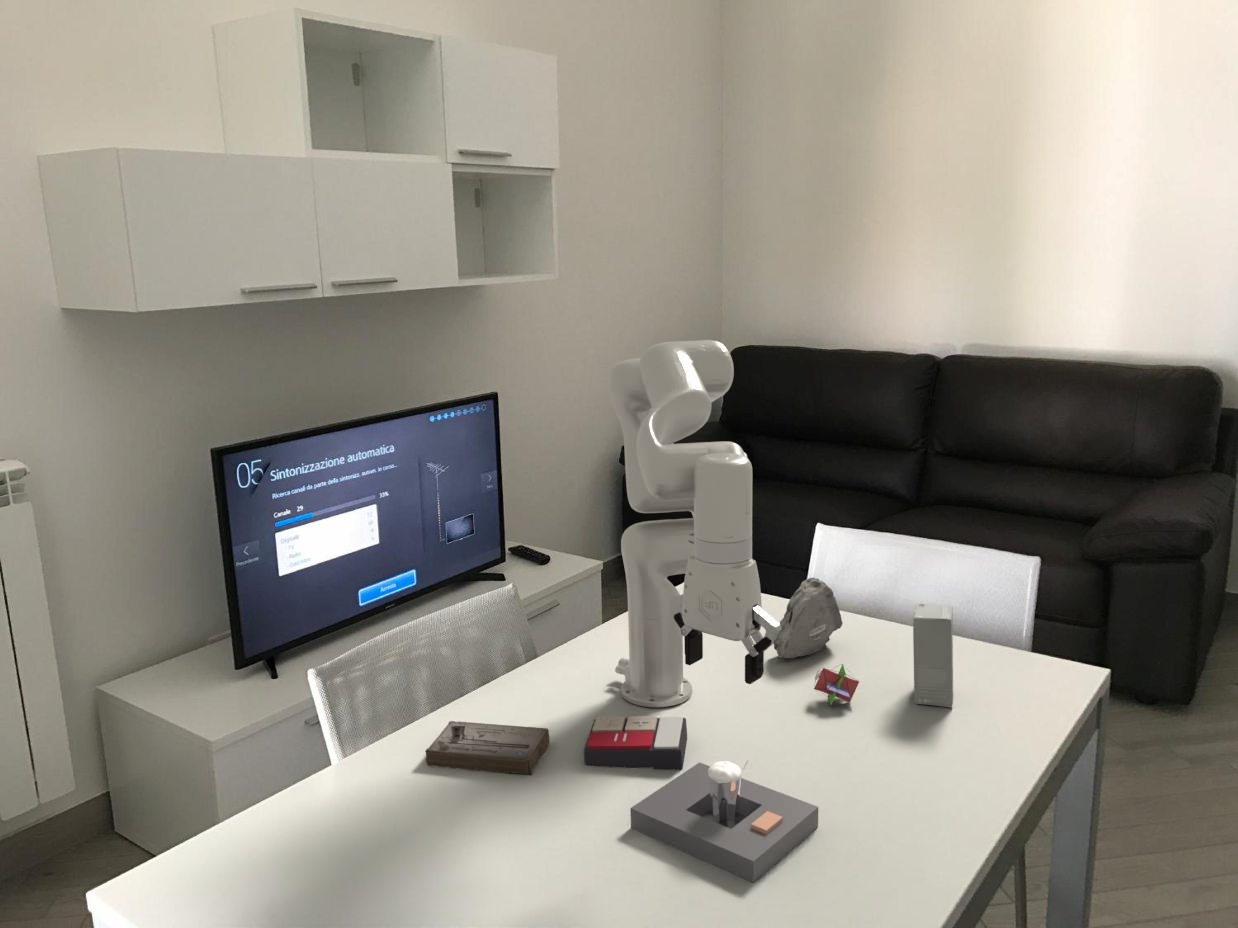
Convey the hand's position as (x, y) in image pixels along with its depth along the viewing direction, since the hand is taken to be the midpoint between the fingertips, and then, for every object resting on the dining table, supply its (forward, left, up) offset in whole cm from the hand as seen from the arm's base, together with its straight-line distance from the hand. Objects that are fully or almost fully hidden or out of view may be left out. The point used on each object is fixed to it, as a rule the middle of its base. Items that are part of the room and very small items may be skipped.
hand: (723, 670), depth 137 cm
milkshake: (+1, -1, -22) cm, 22 cm away
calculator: (-23, +8, -23) cm, 33 cm away
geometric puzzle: (-6, +43, -23) cm, 49 cm away
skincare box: (+6, +55, -23) cm, 60 cm away
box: (-40, -7, -23) cm, 47 cm away
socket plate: (+1, -1, -22) cm, 22 cm away
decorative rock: (-21, +59, -23) cm, 67 cm away
